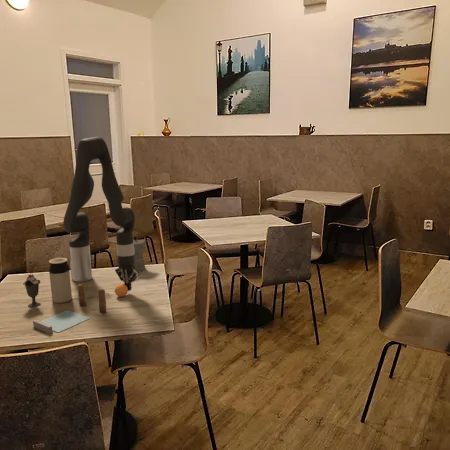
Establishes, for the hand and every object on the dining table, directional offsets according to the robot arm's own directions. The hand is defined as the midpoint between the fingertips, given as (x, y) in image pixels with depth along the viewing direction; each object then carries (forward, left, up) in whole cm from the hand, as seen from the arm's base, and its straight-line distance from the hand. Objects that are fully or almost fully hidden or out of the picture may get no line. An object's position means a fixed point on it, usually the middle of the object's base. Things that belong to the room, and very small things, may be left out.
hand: (128, 290), depth 188 cm
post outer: (+6, -20, -2) cm, 21 cm away
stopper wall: (0, -42, -2) cm, 42 cm away
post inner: (-7, -20, -2) cm, 21 cm away
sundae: (-24, -31, -2) cm, 39 cm away
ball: (0, -4, +1) cm, 4 cm away
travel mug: (-19, -21, -2) cm, 28 cm away
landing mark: (0, -34, -2) cm, 34 cm away
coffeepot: (-22, +25, -2) cm, 34 cm away
